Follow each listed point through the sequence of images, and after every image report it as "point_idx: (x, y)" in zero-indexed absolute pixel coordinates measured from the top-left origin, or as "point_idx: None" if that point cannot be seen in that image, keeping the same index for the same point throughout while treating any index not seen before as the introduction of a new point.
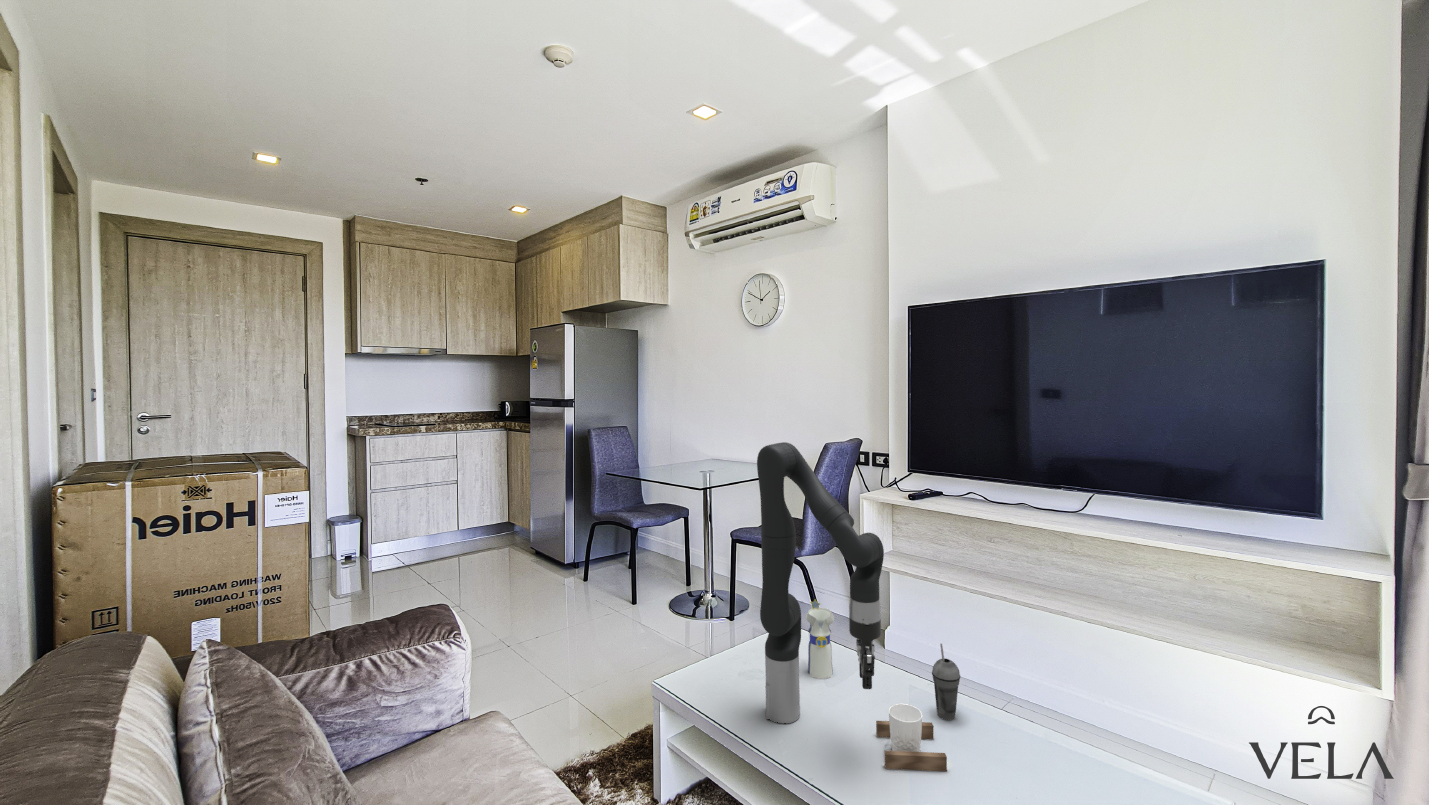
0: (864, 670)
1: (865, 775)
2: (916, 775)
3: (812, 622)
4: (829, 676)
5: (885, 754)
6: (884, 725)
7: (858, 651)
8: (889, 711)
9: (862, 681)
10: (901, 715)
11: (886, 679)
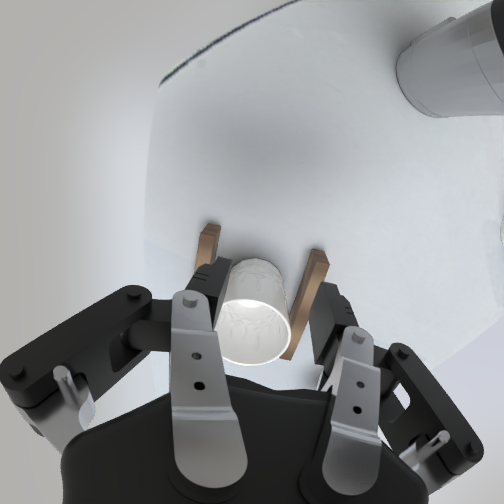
0: (91, 309)
1: (194, 175)
2: (186, 271)
3: None
4: (502, 237)
5: (202, 233)
6: (310, 275)
7: (334, 389)
8: (259, 303)
9: (219, 270)
10: (284, 323)
11: (454, 331)
